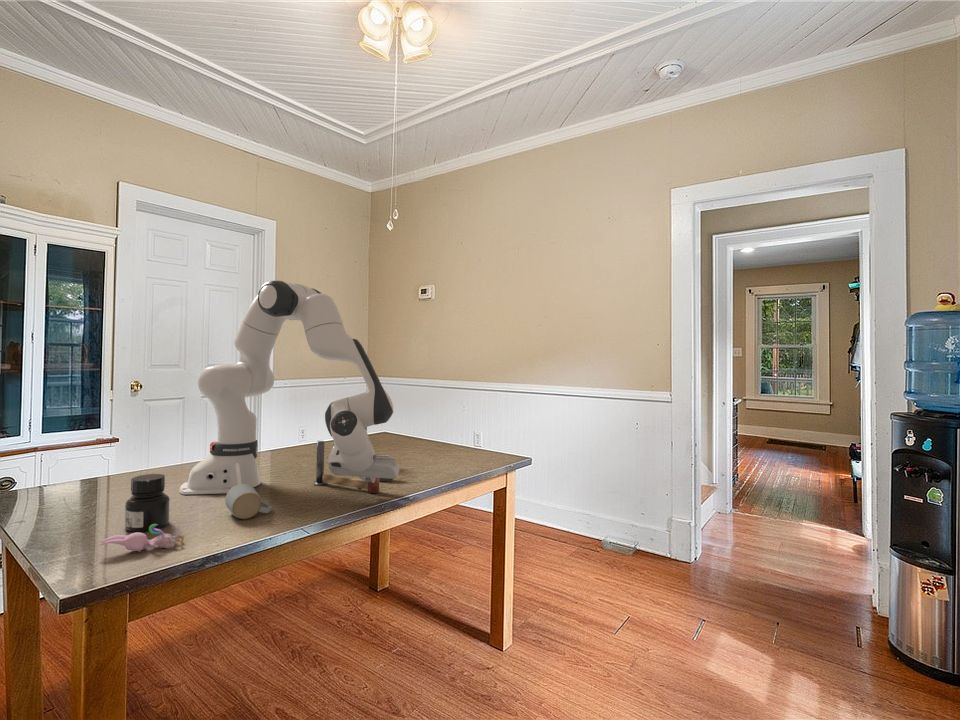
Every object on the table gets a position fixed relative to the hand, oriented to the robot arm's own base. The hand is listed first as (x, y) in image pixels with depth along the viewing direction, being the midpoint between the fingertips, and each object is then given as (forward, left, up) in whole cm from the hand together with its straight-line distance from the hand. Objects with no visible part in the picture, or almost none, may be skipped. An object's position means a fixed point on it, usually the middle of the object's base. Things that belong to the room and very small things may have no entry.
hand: (370, 480), depth 146 cm
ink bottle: (-55, -8, -5) cm, 56 cm away
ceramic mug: (-33, -7, -5) cm, 34 cm away
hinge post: (-13, +18, -5) cm, 23 cm away
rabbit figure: (-53, -24, -5) cm, 58 cm away
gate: (-5, +9, -4) cm, 11 cm away
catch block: (+8, +16, -5) cm, 18 cm away
